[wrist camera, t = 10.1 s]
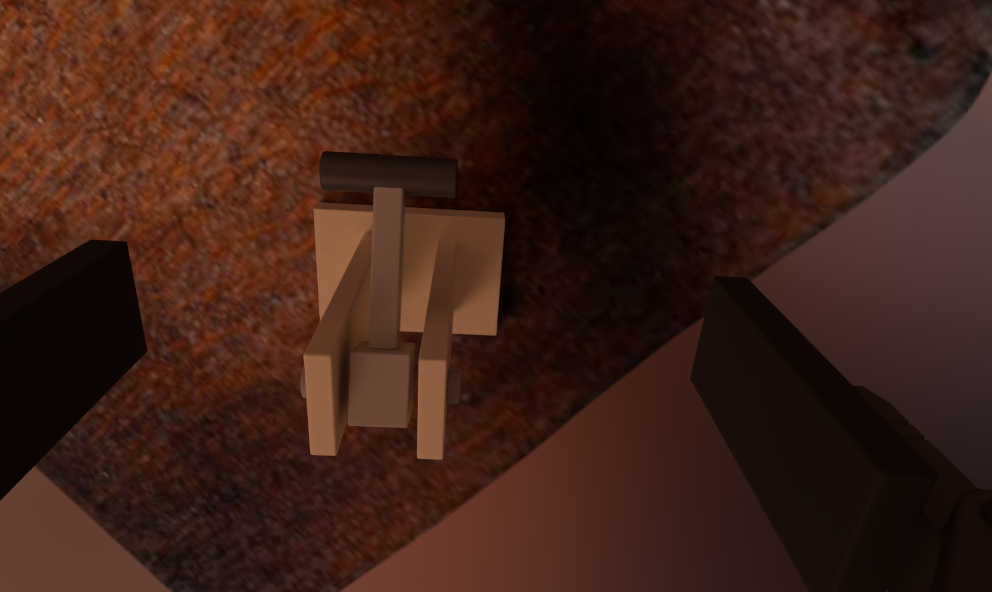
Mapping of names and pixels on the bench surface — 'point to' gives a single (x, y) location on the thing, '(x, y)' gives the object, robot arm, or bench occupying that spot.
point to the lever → (385, 276)
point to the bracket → (424, 308)
